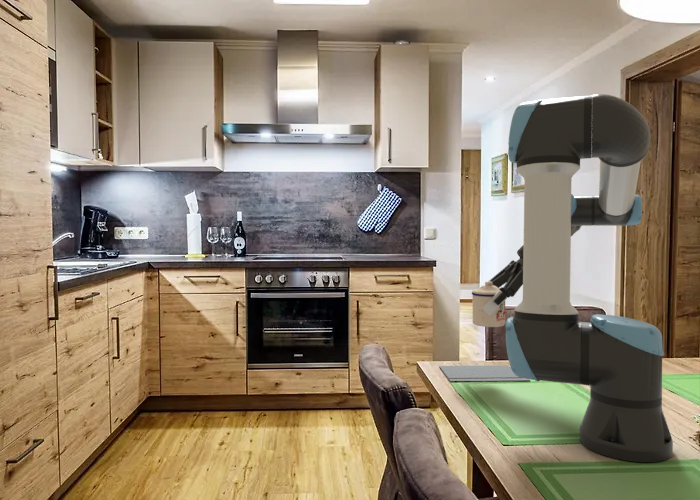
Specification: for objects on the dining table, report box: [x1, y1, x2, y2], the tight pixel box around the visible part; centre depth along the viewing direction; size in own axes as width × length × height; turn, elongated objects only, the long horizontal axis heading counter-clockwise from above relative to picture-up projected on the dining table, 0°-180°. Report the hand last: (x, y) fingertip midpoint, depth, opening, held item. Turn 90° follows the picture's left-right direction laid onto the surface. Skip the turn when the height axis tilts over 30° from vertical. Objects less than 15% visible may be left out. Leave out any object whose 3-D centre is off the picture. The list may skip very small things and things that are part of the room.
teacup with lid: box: [471, 280, 506, 328], centre depth 148 cm, size 12×9×12 cm
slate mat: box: [438, 365, 520, 380], centre depth 150 cm, size 13×20×1 cm, turn 91°
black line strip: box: [448, 378, 531, 383], centre depth 142 cm, size 2×21×1 cm, turn 91°
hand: (480, 308), depth 148 cm, fingers closed on teacup with lid, 11 cm apart
